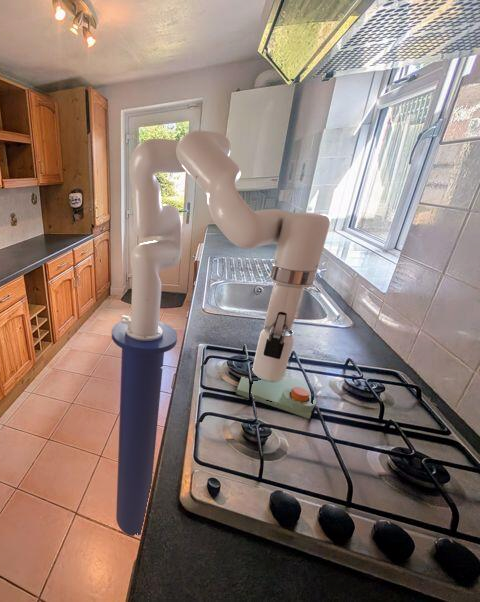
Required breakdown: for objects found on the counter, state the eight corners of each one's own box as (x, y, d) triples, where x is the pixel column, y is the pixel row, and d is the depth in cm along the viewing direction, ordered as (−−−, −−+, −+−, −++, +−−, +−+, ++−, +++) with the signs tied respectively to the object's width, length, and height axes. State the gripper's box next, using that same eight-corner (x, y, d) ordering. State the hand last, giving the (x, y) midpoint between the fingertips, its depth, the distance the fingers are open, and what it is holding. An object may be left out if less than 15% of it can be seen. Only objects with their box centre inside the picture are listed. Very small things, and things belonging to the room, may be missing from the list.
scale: (235, 395, 70) (237, 384, 69) (245, 369, 79) (247, 359, 78) (312, 421, 62) (316, 409, 61) (313, 389, 71) (316, 378, 70)
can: (286, 374, 71) (299, 329, 67) (278, 386, 67) (291, 340, 63) (257, 363, 76) (267, 320, 71) (247, 374, 72) (257, 330, 67)
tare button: (290, 399, 64) (291, 392, 64) (291, 391, 67) (292, 385, 66) (307, 404, 63) (309, 397, 62) (307, 396, 65) (309, 390, 64)
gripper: (275, 263, 71) (260, 330, 77) (266, 283, 58) (248, 362, 65) (315, 267, 67) (295, 338, 73) (314, 290, 54) (290, 373, 60)
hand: (273, 349), depth 69 cm, fingers closed on can, 6 cm apart
